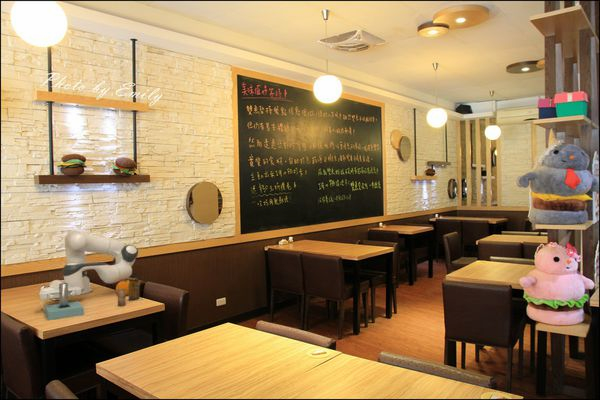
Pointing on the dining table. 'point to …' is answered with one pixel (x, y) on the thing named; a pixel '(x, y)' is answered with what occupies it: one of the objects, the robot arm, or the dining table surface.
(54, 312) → the hole plate
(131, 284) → the condiment
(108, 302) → the dining table surface
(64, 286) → the long pin
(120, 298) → the short pin
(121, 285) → the fruit
